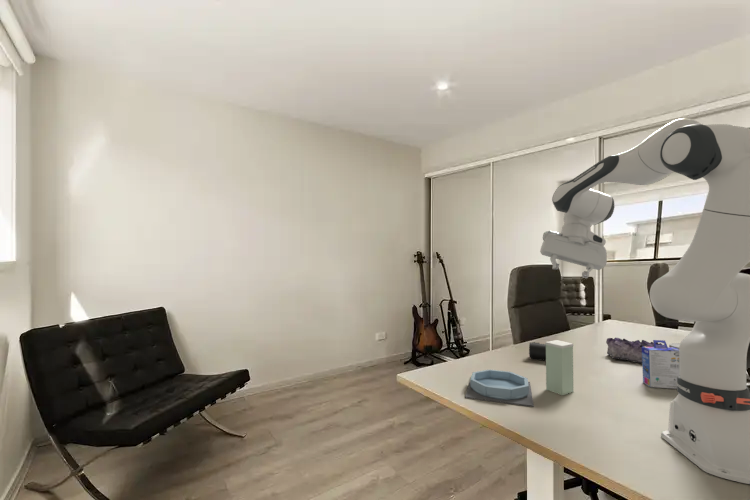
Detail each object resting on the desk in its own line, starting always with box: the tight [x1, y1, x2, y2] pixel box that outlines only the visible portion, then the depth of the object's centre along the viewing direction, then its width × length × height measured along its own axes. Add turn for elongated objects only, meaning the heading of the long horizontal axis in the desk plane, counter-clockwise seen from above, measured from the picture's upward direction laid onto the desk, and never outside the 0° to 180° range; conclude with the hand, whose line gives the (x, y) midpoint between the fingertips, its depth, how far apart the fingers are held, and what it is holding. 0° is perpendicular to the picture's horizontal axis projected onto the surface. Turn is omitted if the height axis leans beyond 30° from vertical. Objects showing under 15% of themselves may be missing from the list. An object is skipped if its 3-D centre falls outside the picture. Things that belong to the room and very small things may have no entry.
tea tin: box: [544, 339, 574, 396], centre depth 113 cm, size 6×6×15 cm
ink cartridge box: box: [641, 339, 679, 390], centre depth 117 cm, size 10×6×14 cm, turn 78°
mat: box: [464, 378, 535, 408], centre depth 114 cm, size 20×19×1 cm
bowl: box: [470, 369, 529, 400], centre depth 114 cm, size 17×17×3 cm
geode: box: [605, 337, 663, 365], centre depth 144 cm, size 20×12×10 cm, turn 55°
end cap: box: [528, 341, 546, 362], centre depth 145 cm, size 10×7×7 cm
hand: (570, 273), depth 118 cm, fingers open, 8 cm apart
